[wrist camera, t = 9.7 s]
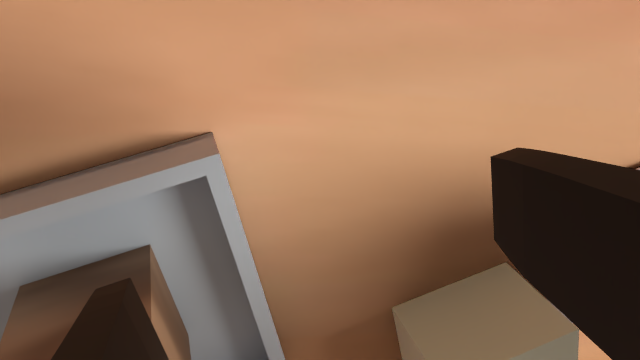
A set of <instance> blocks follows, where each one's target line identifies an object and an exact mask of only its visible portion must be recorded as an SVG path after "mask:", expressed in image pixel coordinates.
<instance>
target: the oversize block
mask: <svg viewBox="0 0 640 360" xmlns="http://www.w3.org/2000/svg"><path fill="white" fill-rule="evenodd" d="M392 311H393V316H394V321H395V326H396V331H397V336H398V341H399V346H400V351H401V356H402V360H578V342H579V329H578V328H577V327H576V326H575V325H574V324H573V323H572V322H570V321H569V320H568V319H567V318H566V317H565V316H564V315H563V314H562V313H561V312H560V311H559V310H557V309H556V308H555V307H554V306H553V305H552V304H551V303H550V302H549V301H548V300H547V299H545V298H544V297H543V296H542V295H541V294H540V293H539V292H538V291H537V290H536V289H535V288H534V287H532V286H531V285H530V284H529V283H528V282H527V281H526V280H525V279H524V278H523V277H522V276H520V275H519V274H518V273H517V272H516V271H515V270H514V269H513V268H512V267H511V266H510V265H509V264H507V263H506V262H505V263H503V264H500V265H498V266H495V267H493V268H490V269H488V270H485V271H482V272H480V273H477V274H475V275H472V276H470V277H467V278H465V279H462V280H460V281H457V282H455V283H452V284H450V285H447V286H445V287H442V288H440V289H437V290H435V291H432V292H429V293H427V294H424V295H422V296H419V297H417V298H414V299H412V300H409V301H407V302H404V303H402V304H399V305H397V306H394V307H392Z"/></svg>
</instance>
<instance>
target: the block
mask: <svg viewBox="0 0 640 360" xmlns="http://www.w3.org/2000/svg"><path fill="white" fill-rule="evenodd" d="M127 278H131V280H132V282H133V284H134V286H135V288H136V291H137V293H138V295H139V297H140V299H141V301H142V303H143V305H144V307H145V310H146V312H147V314H148V316H149V318H150V320H151V322H152V324H153V327H154V329H155V331H156V333H157V335H158V337H159V339H160V341H161V344H162V346H163V348H164V350H165V352H166V354H167V356H168V358H169V360H191V354H190V344H189V335H188V333H187V330H186V328H185V325H184V323H183V321H182V318H181V316H180V314H179V311H178V309H177V307H176V304H175V302H174V300H173V297H172V295H171V292H170V290H169V288H168V285H167V283H166V281H165V278H164V276H163V274H162V271H161V269H160V267H159V264H158V262H157V259H156V257H155V255H154V252H153V250H152V248H151V245H150V244H149V245H146V246H143V247H140V248H137V249H134V250H131V251H128V252H124V253H121V254H118V255H115V256H112V257H109V258H106V259H103V260H100V261H96V262H93V263H90V264H87V265H84V266H81V267H78V268H75V269H71V270H68V271H65V272H62V273H59V274H56V275H53V276H50V277H47V278H43V279H40V280H37V281H34V282H31V283H28V284H25V285H22V286H20V287H19V290H18V293H17V296H16V298H15V301H14V304H13V307H12V310H11V313H10V316H9V318H8V321H7V324H6V327H5V330H4V333H3V336H2V338H1V341H0V360H51V359H52V357H53V355H54V354H55V352H56V351H57V349H58V348H59V346H60V345H61V343H62V341H63V340H64V338H65V337H66V335H67V333H68V332H69V330H70V329H71V327H72V325H73V324H74V322H75V320H76V319H77V317H78V316H79V314H80V312H81V311H82V309H83V307H84V306H85V304H86V303H87V301H88V300H89V298H90V296H91V295H92V293H93V292H94V291H95V289H97V288H100V287H103V286H106V285H109V284H112V283H115V282H118V281H121V280H124V279H127Z"/></svg>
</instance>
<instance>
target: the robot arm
mask: <svg viewBox="0 0 640 360" xmlns="http://www.w3.org/2000/svg"><path fill="white" fill-rule="evenodd" d="M491 175H492V198H493V222H494V240H495V241H496V243H497V244H498V245H499V246H500V248H501V249H502V250H503V252H504V253H505V254H506V256H507V257H508V258H509V259H510V261H511V262H512V263H513V264H514V265H515V267H516V268H517V269H518V270H519V271H520V273H521V274H522V275H523V276H524V277H525V278H526V279H527V280H528V281H529V282H530V283H531V284H532V285H533V286H534V287H535V288H536V289H537V290H538V291H539V292H540V293H541V294H542V295H543V296H545V297H546V298H547V300H548V301H549V302H550V303H551V304H552V305H553V306H554V307H555V308H556V309H557V310H559V311H560V312H561V313H562V314H563V315H564V316H565V317H566V318H567V319H568V320H569V321H570V322H572V323H573V324H574V325H576V326H577V327H578V328H579V329H580V330H581V331H582V332H583V333H584V334H585V335H586V336H587V337H588V338H590V339H591V340H592V341H593V342H594V343H595V344H596V345H597V346H598V347H599V348H600V349H601V350H602V351H604V352H605V353H606V354H607V355H608V356H609V357H610V358H611V359H612V360H640V168H637V169H631V168H626V167H621V166H616V165H611V164H606V163H601V162H597V161H592V160H587V159H582V158H577V157H572V156H567V155H562V154H557V153H552V152H546V151H540V150H534V149H526V148H515V149H512V150H509V151H506V152H503V153H500V154H497V155H494V156H491ZM51 360H169V358H168V356H167V354H166V352H165V350H164V348H163V346H162V344H161V341H160V339H159V337H158V335H157V333H156V331H155V329H154V327H153V324H152V322H151V320H150V318H149V316H148V314H147V312H146V310H145V307H144V305H143V303H142V301H141V299H140V297H139V295H138V293H137V291H136V288H135V286H134V284H133V282H132V280H131V278H127V279H124V280H121V281H118V282H115V283H112V284H109V285H106V286H103V287H100V288H97V289H95V291H94V292H93V293H92V295H91V296H90V298H89V300H88V301H87V303H86V304H85V306H84V307H83V309H82V311H81V312H80V314H79V316H78V317H77V319H76V320H75V322H74V324H73V325H72V327H71V329H70V330H69V332H68V333H67V335H66V337H65V338H64V340H63V341H62V343H61V345H60V346H59V348H58V349H57V351H56V352H55V354H54V355H53V357H52V359H51Z"/></svg>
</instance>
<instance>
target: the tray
mask: <svg viewBox="0 0 640 360" xmlns="http://www.w3.org/2000/svg"><path fill="white" fill-rule="evenodd" d="M149 244H150V245H151V248H152V250H153V252H154V255H155V257H156V259H157V262H158V264H159V267H160V269H161V271H162V274H163V276H164V278H165V281H166V283H167V285H168V288H169V290H170V292H171V295H172V297H173V300H174V302H175V304H176V307H177V309H178V311H179V314H180V316H181V318H182V321H183V323H184V325H185V328H186V330H187V333H188V335H189V344H190V354H191V360H285V357H284V354H283V351H282V348H281V344H280V341H279V338H278V335H277V332H276V329H275V326H274V323H273V320H272V316H271V313H270V310H269V307H268V304H267V301H266V298H265V295H264V291H263V288H262V285H261V282H260V279H259V276H258V273H257V270H256V267H255V263H254V260H253V257H252V254H251V251H250V248H249V245H248V242H247V239H246V235H245V232H244V229H243V226H242V223H241V220H240V217H239V214H238V210H237V207H236V204H235V201H234V198H233V195H232V192H231V189H230V186H229V182H228V179H227V176H226V173H225V170H224V167H223V164H222V161H221V157H220V154H219V151H218V148H217V145H216V142H215V139H214V136H213V133H212V132H211V133H207V134H204V135H201V136H197V137H194V138H190V139H187V140H184V141H180V142H177V143H173V144H170V145H167V146H163V147H160V148H157V149H153V150H150V151H146V152H143V153H140V154H136V155H133V156H129V157H126V158H123V159H119V160H116V161H113V162H109V163H106V164H102V165H99V166H96V167H92V168H89V169H85V170H82V171H79V172H75V173H72V174H69V175H65V176H62V177H58V178H55V179H52V180H48V181H45V182H42V183H38V184H35V185H31V186H28V187H25V188H21V189H18V190H14V191H11V192H8V193H4V194H1V195H0V341H1V338H2V336H3V333H4V330H5V327H6V324H7V321H8V318H9V316H10V313H11V310H12V307H13V304H14V301H15V298H16V296H17V293H18V290H19V287H20V286H22V285H25V284H28V283H31V282H34V281H37V280H40V279H43V278H47V277H50V276H53V275H56V274H59V273H62V272H65V271H68V270H71V269H75V268H78V267H81V266H84V265H87V264H90V263H93V262H96V261H100V260H103V259H106V258H109V257H112V256H115V255H118V254H121V253H124V252H128V251H131V250H134V249H137V248H140V247H143V246H146V245H149Z"/></svg>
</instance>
